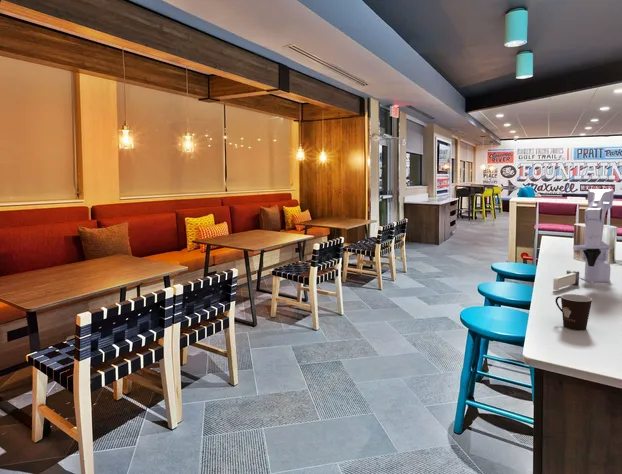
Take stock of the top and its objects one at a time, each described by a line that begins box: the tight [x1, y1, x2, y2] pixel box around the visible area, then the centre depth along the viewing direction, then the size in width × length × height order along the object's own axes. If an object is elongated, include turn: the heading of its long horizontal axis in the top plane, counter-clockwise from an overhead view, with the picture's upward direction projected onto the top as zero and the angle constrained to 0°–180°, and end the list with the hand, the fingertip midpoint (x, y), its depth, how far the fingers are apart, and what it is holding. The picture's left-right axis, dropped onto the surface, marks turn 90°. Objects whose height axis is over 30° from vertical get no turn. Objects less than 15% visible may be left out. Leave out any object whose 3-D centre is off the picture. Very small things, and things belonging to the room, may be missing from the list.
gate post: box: [565, 270, 580, 286], centre depth 191 cm, size 8×2×6 cm, turn 174°
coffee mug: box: [555, 293, 593, 332], centre depth 138 cm, size 12×9×10 cm
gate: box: [552, 273, 576, 291], centre depth 183 cm, size 16×2×5 cm, turn 123°
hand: (591, 266), depth 183 cm, fingers closed
